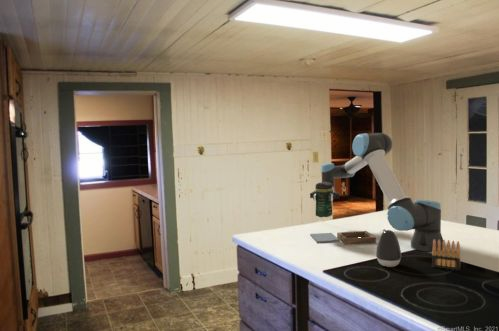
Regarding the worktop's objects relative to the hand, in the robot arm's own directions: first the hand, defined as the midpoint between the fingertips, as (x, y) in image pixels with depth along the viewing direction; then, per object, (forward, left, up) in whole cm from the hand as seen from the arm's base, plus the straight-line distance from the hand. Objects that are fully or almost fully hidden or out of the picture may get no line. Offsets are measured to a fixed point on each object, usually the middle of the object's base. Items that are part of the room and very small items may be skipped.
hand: (323, 198), depth 216 cm
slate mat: (+4, -2, -23) cm, 23 cm away
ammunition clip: (-52, -38, -23) cm, 68 cm away
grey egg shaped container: (-44, -17, -23) cm, 52 cm away
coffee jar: (+5, -2, -11) cm, 12 cm away
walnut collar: (-3, -17, -23) cm, 28 cm away
